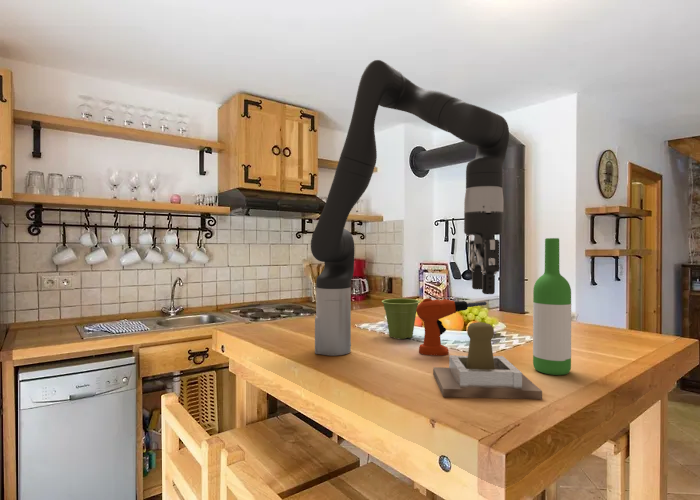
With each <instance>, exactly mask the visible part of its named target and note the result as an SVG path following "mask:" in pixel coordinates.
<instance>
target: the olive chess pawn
mask: <svg viewBox="0 0 700 500" xmlns="http://www.w3.org/2000/svg"><path fill="white" fill-rule="evenodd" d="M466 329H467V330H466V331H467V332H466V333H467V336H468V338H469V343H468V351H467V356H468V358H467V365H466V369H492V370H495V366H494V359H493V356H494V353H493V345H492V339H493V338H494V335H495V330H494V327H493V325H491V324H490V323H487V322H482V321H480V322H479V321H478V322H477V321H476V322H471V323H470V324H469V325H468V326H467V328H466Z"/></svg>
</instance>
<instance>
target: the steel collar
mask: <svg viewBox="0 0 700 500" xmlns="http://www.w3.org/2000/svg"><path fill="white" fill-rule="evenodd" d="M448 355H449V356H448V357H449V359H448V361H449V363H448V368H449V369H450V371H451V373H452V375H453V376H454V378H455V380H456V381H457V383H458V385H459V386H460V387H464V388H468V387H484V388H514V389H522V374H523V372H522V371H521V370H520V369H518V368H517V367H516V366H515V365H513V363H511V362H510V360H508V359H507V358H506V357H505V356H503V355H493V359H494V366H495V370H492V369H466V365H467V358H468V355H455V354H453V355H451V354H448Z"/></svg>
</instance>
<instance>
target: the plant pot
mask: <svg viewBox="0 0 700 500" xmlns="http://www.w3.org/2000/svg"><path fill="white" fill-rule="evenodd" d="M381 303H382V304H383V308H384V310H385V316H386V317H385V318H386V323H387V329H388V333H389V337H390V338H393V339H397V340H398V339H400V340H404V339H407V338H409V339H411V338H413V336H414V329H415V323H416V315H417V312H416V309H417V306H418V305H419V304H420V303H421V300H419V299H413V298H387V299H383V300H381Z"/></svg>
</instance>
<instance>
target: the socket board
mask: <svg viewBox="0 0 700 500" xmlns="http://www.w3.org/2000/svg"><path fill="white" fill-rule="evenodd" d="M432 372H433V377H434V379H435V382H436V384H437V386H438V389H439V391H440V393H441V396H442V397H443V398H477V399H481V398H482V399H515V400H516V399H517V400H518V399H522V400H523V399H524V400H543V390H542V389H541V388H539V387H538V386H537V385H536V384H535V383H533V382H532V381H531V379H529V378H528V377H527V376H526V375H524V374H523V373H522V389H514V388H484V387H468V388H464V387H460V386H459V385H458V383H457V381H456V380H455V378H454V376H453V375H452V373H451V371H450V369H449V367H445V366H444V367H436V366H433V368H432Z"/></svg>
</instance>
